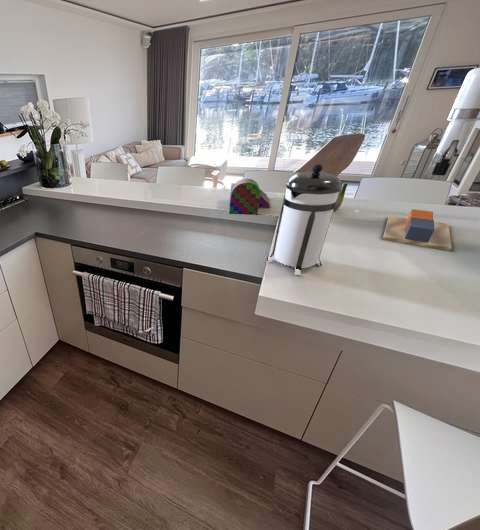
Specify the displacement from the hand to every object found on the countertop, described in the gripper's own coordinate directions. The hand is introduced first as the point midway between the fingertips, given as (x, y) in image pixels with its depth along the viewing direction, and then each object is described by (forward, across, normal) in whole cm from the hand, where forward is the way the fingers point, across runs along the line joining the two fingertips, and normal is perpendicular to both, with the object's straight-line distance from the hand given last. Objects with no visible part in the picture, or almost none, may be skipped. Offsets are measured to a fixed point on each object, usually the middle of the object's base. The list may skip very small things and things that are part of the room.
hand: (438, 174), depth 98 cm
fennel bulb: (+17, 0, -27) cm, 32 cm away
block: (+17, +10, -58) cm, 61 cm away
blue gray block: (+17, +18, 0) cm, 24 cm away
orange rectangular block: (+16, +8, 0) cm, 18 cm away
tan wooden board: (+17, +12, 0) cm, 21 cm away
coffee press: (+17, +54, -27) cm, 63 cm away
